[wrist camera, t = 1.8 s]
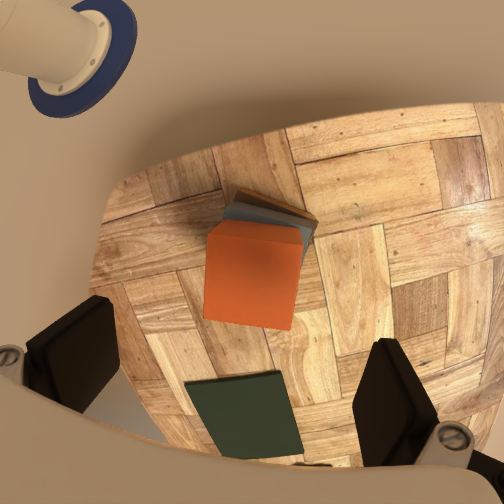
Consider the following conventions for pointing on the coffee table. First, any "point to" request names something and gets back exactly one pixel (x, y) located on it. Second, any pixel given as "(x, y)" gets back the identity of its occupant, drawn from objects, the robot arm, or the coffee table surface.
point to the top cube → (252, 274)
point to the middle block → (268, 219)
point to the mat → (248, 416)
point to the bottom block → (274, 206)
